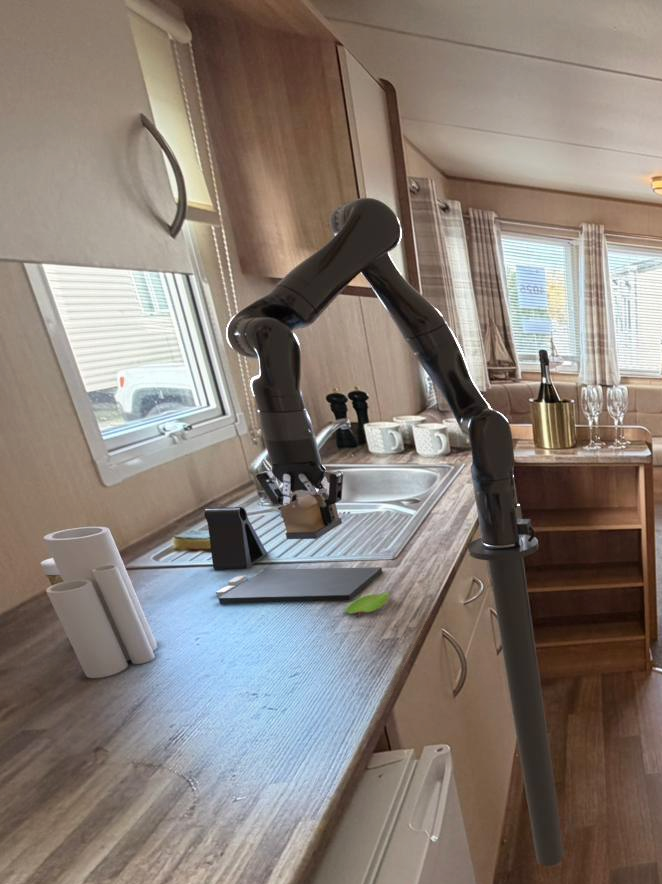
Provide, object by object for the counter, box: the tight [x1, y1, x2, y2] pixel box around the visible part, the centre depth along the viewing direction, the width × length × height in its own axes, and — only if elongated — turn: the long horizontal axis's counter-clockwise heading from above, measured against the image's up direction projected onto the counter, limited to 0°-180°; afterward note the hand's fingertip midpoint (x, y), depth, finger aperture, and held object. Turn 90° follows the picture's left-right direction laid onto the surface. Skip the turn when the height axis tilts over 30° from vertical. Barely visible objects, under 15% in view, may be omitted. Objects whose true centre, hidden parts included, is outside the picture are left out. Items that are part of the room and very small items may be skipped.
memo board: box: [218, 566, 383, 605], centre depth 127 cm, size 22×15×1 cm
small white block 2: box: [227, 575, 248, 587], centre depth 128 cm, size 2×3×1 cm, turn 10°
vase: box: [43, 526, 158, 679], centre depth 96 cm, size 11×7×20 cm, turn 31°
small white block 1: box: [215, 585, 236, 598], centre depth 123 cm, size 2×3×1 cm, turn 10°
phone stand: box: [204, 506, 268, 570], centre depth 135 cm, size 9×6×12 cm, turn 15°
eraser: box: [279, 494, 343, 540], centre depth 122 cm, size 5×10×6 cm, turn 10°
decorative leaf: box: [346, 592, 390, 618], centre depth 121 cm, size 8×9×1 cm
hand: (313, 524), depth 123 cm, fingers closed on eraser, 4 cm apart
